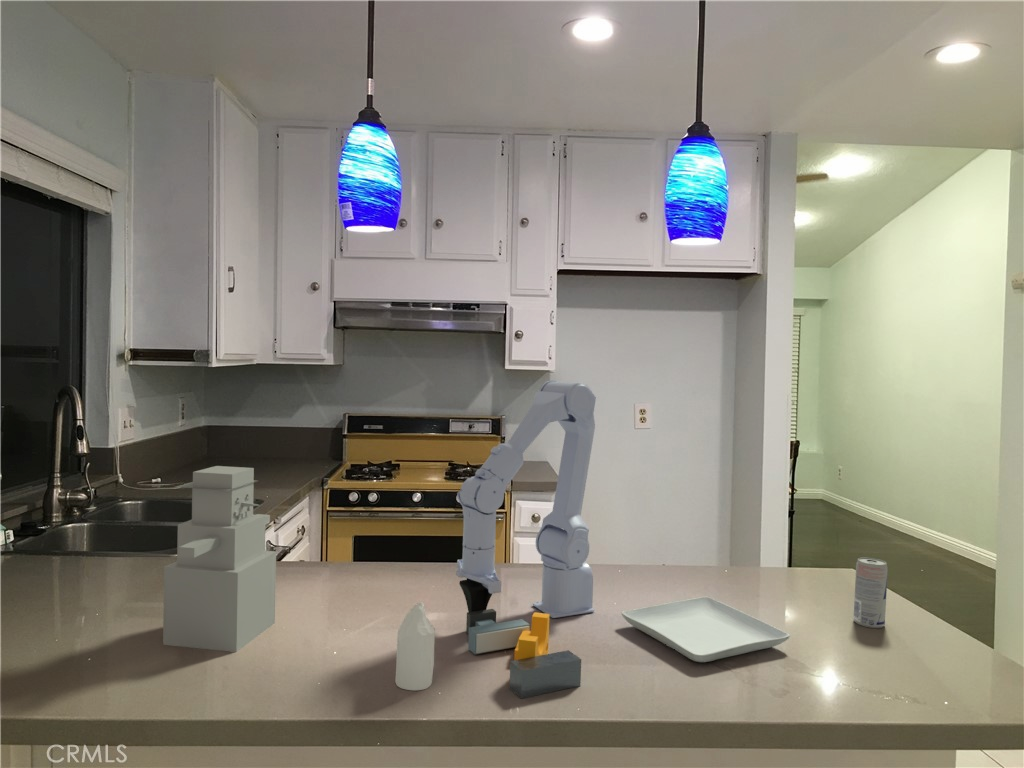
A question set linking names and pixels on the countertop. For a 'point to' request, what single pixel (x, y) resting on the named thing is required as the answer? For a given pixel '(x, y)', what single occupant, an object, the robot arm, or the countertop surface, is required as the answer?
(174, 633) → the stacked tiered boxes
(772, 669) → the countertop surface
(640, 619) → the salad plate
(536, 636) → the pipe clamp
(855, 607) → the energy drink
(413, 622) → the pale white bottle
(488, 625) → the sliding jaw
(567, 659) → the block
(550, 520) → the robot arm
